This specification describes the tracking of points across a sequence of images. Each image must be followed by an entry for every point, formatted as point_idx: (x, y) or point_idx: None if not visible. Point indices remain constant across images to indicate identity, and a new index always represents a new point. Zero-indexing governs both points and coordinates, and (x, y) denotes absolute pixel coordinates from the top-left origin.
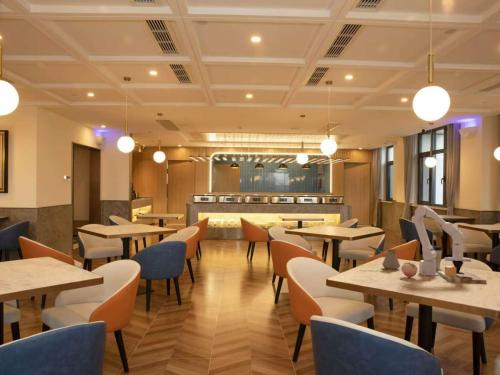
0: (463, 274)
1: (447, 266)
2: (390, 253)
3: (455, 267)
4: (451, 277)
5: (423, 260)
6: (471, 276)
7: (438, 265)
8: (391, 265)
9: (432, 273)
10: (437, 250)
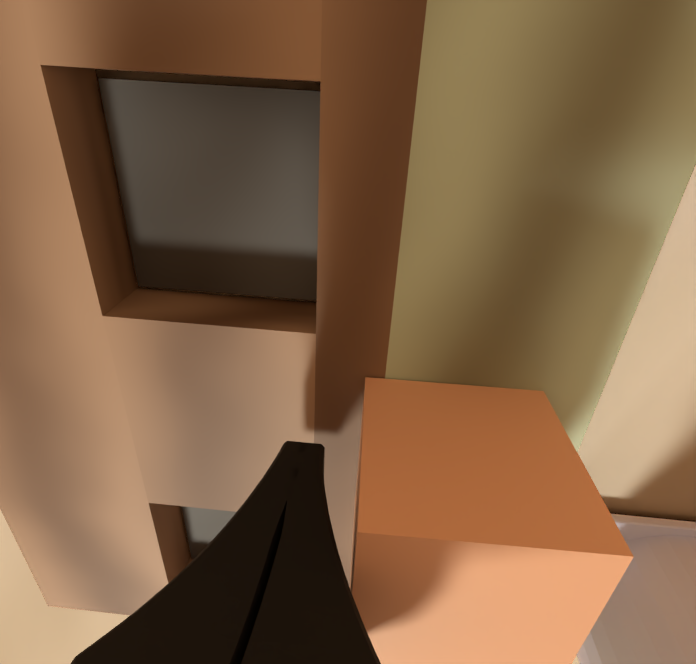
0: (185, 490)
1: (548, 633)
2: None
3: (381, 536)
4: (591, 181)
5: None
6: (73, 360)
7: None
8: None
9: (674, 555)
10: None
